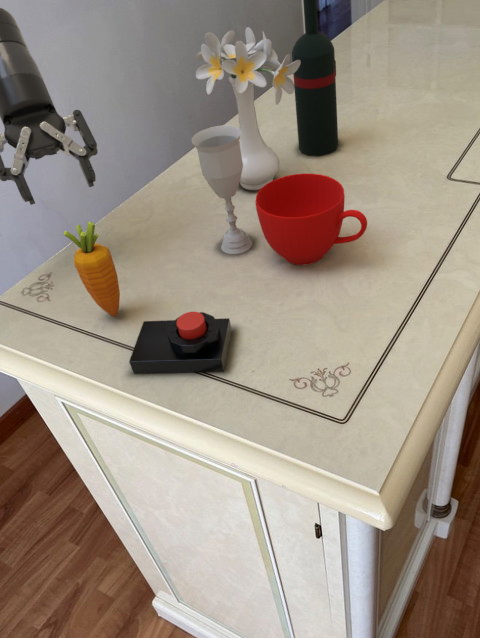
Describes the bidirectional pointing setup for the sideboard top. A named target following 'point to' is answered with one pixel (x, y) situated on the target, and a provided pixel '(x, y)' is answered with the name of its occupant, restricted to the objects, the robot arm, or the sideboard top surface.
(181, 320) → the red short cylinder
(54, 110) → the robot arm
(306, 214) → the ceramic cup
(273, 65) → the flower vase
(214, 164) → the chalice
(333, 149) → the wine bottle
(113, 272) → the carrot
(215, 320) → the black flat block
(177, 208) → the sideboard top surface
